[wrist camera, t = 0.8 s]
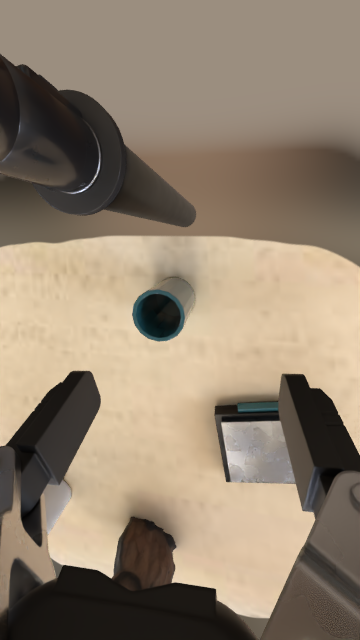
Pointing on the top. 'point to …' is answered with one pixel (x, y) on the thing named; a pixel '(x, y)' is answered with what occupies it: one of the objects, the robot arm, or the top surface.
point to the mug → (55, 502)
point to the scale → (253, 443)
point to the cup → (164, 309)
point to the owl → (144, 556)
